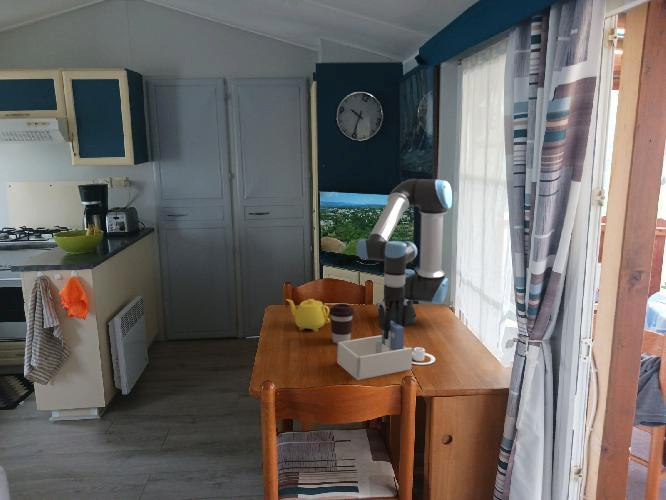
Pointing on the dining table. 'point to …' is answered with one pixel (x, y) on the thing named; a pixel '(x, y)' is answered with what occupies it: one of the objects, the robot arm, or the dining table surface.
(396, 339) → the blue flat block
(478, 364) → the dining table surface
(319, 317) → the teapot
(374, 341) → the box
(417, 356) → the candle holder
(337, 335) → the coffee cup
